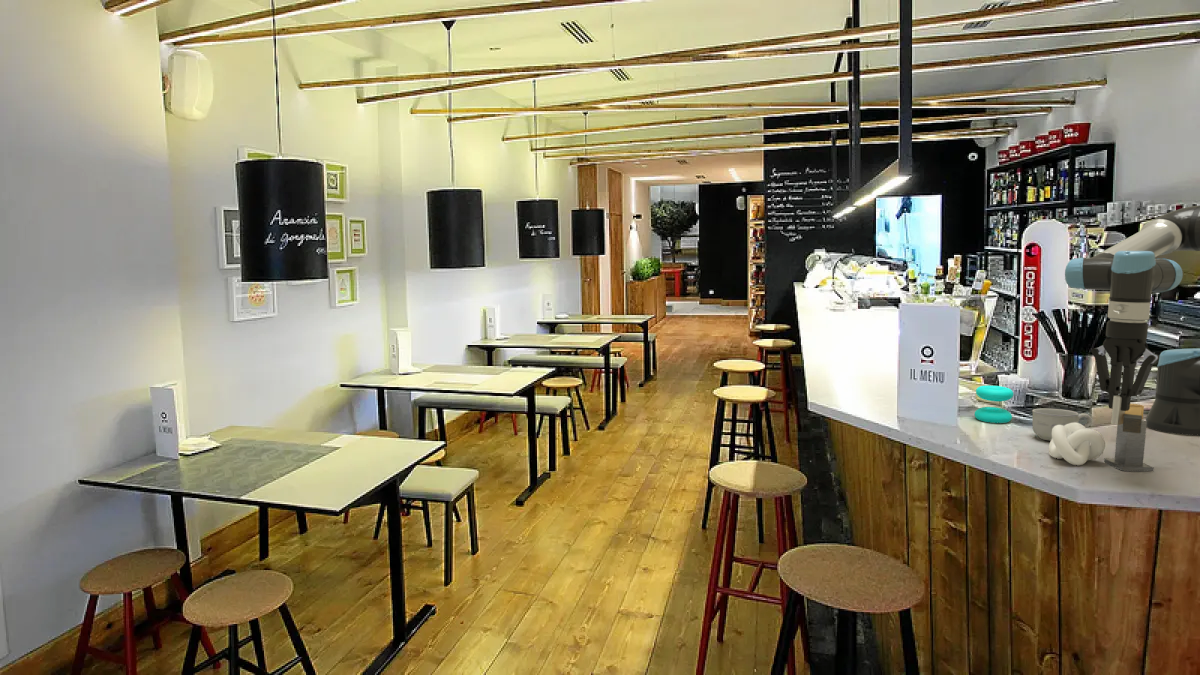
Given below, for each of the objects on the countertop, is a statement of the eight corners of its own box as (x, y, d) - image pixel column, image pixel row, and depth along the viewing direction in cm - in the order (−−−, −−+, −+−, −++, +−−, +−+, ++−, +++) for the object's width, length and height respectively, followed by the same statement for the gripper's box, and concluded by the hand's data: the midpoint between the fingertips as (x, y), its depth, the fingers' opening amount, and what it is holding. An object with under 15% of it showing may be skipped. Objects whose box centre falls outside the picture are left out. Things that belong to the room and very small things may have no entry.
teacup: (1031, 441, 197) (1033, 412, 196) (1029, 432, 207) (1031, 404, 206) (1093, 448, 191) (1095, 418, 190) (1088, 438, 200) (1090, 409, 199)
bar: (1122, 415, 176) (1123, 402, 176) (1142, 417, 174) (1144, 404, 173) (1120, 431, 162) (1121, 417, 161) (1142, 433, 159) (1144, 419, 159)
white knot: (1085, 471, 172) (1088, 434, 170) (1033, 459, 182) (1035, 424, 181) (1108, 463, 178) (1112, 427, 176) (1056, 452, 188) (1059, 418, 186)
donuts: (970, 384, 225) (1003, 384, 225) (968, 416, 226) (1001, 416, 226) (985, 391, 215) (1020, 391, 215) (983, 424, 216) (1018, 424, 216)
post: (1134, 462, 178) (1138, 416, 177) (1153, 471, 171) (1157, 423, 170) (1103, 462, 179) (1107, 415, 177) (1122, 471, 172) (1126, 422, 170)
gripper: (1087, 318, 166) (1078, 419, 170) (1152, 324, 155) (1141, 432, 159) (1104, 316, 170) (1095, 415, 173) (1169, 322, 159) (1158, 428, 162)
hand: (1117, 423), depth 166 cm, fingers closed
